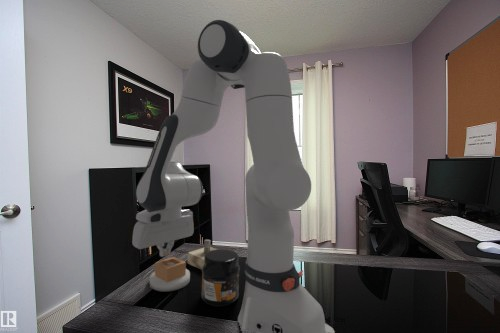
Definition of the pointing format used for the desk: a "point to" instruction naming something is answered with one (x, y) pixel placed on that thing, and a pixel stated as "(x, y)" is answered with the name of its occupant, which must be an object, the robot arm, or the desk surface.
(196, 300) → the desk surface
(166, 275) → the orange square hollow block
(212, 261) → the supplement container
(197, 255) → the stand
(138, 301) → the desk surface
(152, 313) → the desk surface
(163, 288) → the hub
